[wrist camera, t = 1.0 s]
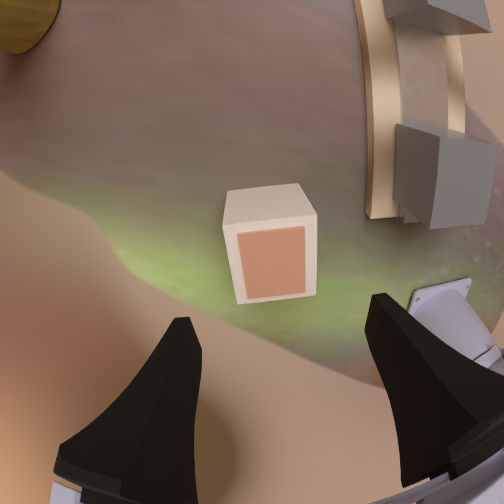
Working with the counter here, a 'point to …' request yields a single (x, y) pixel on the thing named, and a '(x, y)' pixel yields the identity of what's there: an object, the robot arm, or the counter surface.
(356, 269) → the counter surface
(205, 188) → the counter surface
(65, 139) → the counter surface
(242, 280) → the block
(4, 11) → the vase
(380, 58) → the board
